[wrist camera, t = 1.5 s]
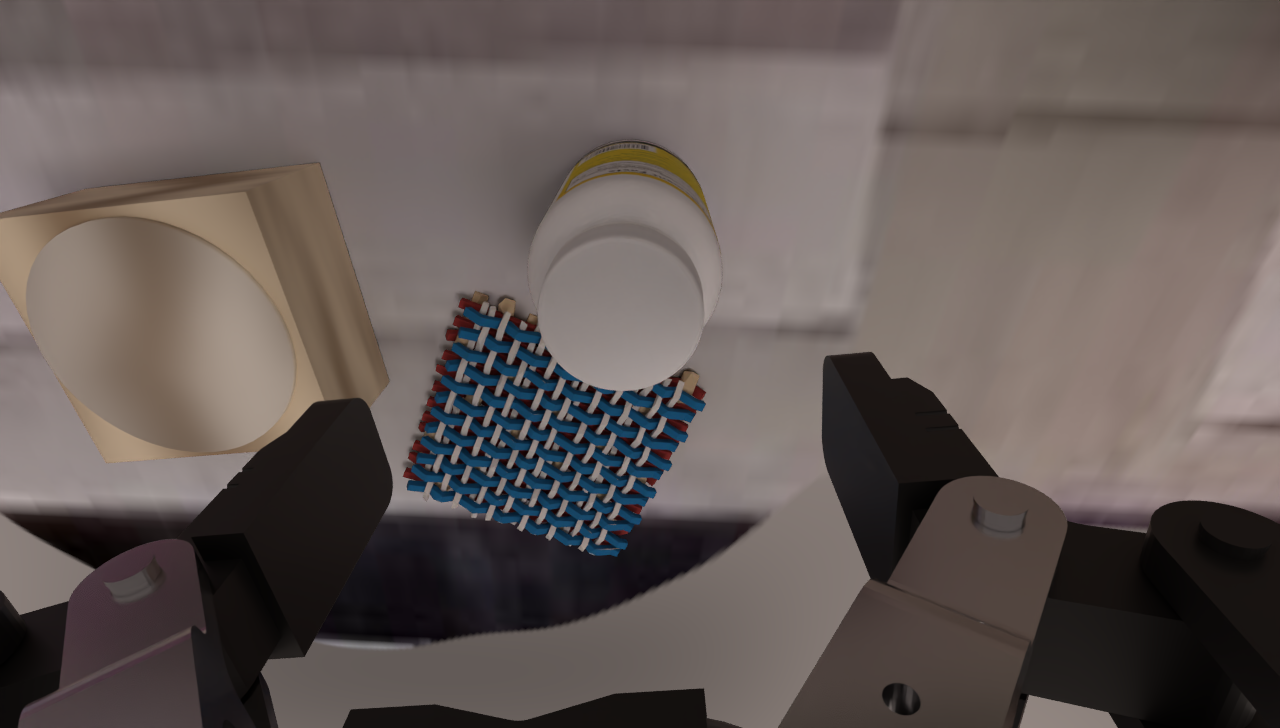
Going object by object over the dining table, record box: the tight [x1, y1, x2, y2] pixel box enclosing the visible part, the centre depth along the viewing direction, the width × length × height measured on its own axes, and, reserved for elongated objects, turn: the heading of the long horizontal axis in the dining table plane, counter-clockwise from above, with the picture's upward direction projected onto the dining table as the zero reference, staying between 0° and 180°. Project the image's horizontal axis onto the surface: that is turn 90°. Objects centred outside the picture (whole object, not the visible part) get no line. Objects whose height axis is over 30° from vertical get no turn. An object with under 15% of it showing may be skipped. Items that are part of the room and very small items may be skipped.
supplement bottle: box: [528, 140, 722, 391], centre depth 20 cm, size 5×5×10 cm
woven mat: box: [403, 291, 706, 557], centre depth 28 cm, size 10×11×2 cm
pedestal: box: [0, 163, 390, 463], centre depth 24 cm, size 9×9×5 cm
